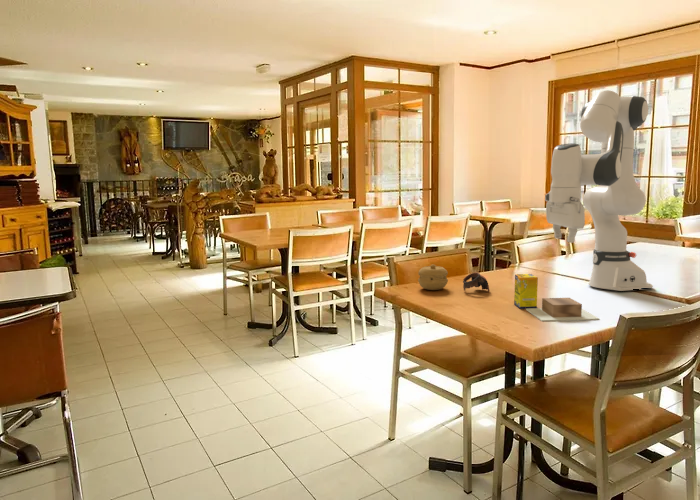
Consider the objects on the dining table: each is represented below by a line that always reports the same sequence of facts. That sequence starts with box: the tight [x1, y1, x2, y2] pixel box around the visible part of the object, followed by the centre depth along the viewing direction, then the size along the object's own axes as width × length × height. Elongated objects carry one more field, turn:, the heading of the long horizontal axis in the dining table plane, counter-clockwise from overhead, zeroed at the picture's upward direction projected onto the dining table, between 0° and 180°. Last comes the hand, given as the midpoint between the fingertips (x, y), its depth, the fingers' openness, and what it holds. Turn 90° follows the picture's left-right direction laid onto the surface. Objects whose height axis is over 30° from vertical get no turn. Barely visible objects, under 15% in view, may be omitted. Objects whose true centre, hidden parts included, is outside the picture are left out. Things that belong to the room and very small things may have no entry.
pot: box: [417, 264, 449, 291], centre depth 210 cm, size 12×12×10 cm
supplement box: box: [513, 273, 539, 310], centre depth 179 cm, size 6×6×11 cm
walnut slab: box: [541, 297, 583, 317], centre depth 169 cm, size 9×9×4 cm
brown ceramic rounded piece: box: [462, 271, 491, 293], centre depth 205 cm, size 12×9×8 cm
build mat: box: [525, 307, 600, 322], centre depth 169 cm, size 18×14×1 cm
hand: (564, 240), depth 166 cm, fingers open, 8 cm apart
